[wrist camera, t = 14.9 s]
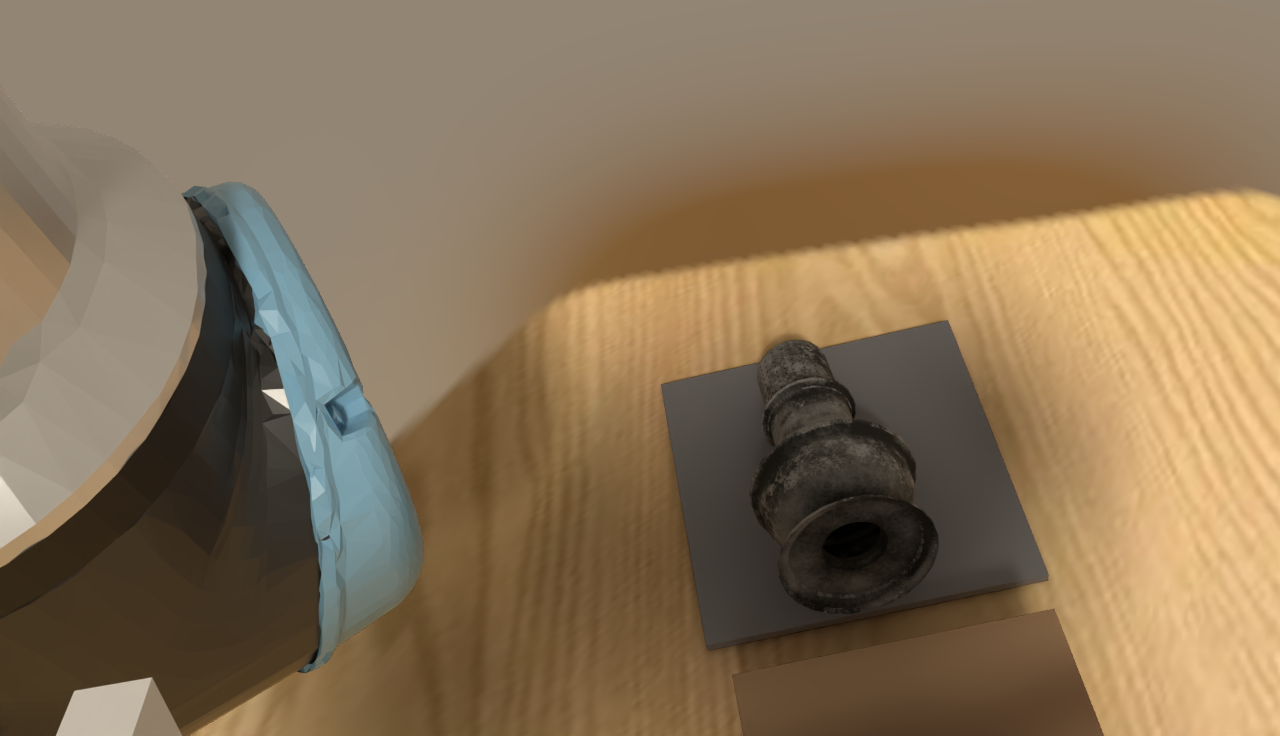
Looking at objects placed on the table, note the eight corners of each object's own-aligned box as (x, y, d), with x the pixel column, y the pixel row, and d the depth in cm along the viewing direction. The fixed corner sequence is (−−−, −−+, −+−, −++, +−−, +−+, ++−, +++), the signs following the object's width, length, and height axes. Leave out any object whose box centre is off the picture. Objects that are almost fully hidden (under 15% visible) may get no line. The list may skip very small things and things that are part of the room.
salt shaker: (835, 466, 36) (760, 262, 46) (734, 592, 39) (684, 374, 49) (984, 522, 38) (883, 315, 48) (879, 638, 41) (803, 420, 51)
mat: (707, 650, 42) (706, 645, 42) (662, 390, 50) (660, 384, 50) (1047, 580, 41) (1048, 574, 41) (948, 326, 49) (947, 320, 49)
